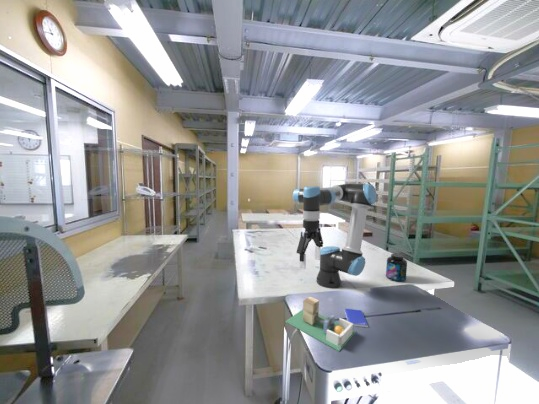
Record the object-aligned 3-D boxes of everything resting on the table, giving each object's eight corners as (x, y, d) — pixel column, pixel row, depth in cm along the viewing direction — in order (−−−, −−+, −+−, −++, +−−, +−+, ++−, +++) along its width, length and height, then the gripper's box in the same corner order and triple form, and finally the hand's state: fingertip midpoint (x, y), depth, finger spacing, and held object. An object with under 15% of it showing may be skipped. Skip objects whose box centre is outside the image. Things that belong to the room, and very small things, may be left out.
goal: (339, 326, 101) (340, 317, 101) (353, 332, 97) (353, 323, 97) (326, 339, 92) (326, 330, 92) (340, 347, 88) (340, 337, 88)
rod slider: (310, 315, 109) (310, 295, 108) (334, 326, 100) (335, 305, 99) (301, 321, 103) (302, 301, 103) (326, 334, 95) (327, 312, 94)
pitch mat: (305, 308, 116) (305, 307, 116) (356, 332, 98) (356, 331, 98) (285, 322, 104) (285, 321, 104) (338, 351, 87) (339, 350, 86)
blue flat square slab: (368, 325, 102) (361, 310, 114) (349, 322, 103) (344, 308, 115) (368, 328, 102) (361, 313, 114) (348, 326, 103) (344, 311, 115)
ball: (343, 323, 96) (347, 333, 95) (335, 324, 98) (338, 333, 97) (339, 327, 93) (342, 338, 92) (330, 328, 95) (334, 338, 94)
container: (386, 280, 152) (388, 255, 151) (384, 274, 163) (386, 251, 163) (407, 284, 147) (409, 258, 147) (404, 277, 159) (405, 254, 158)
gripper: (317, 215, 119) (316, 254, 121) (288, 222, 100) (288, 269, 103) (330, 216, 114) (329, 258, 116) (303, 224, 95) (302, 273, 98)
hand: (310, 263), depth 109 cm, fingers open, 13 cm apart
